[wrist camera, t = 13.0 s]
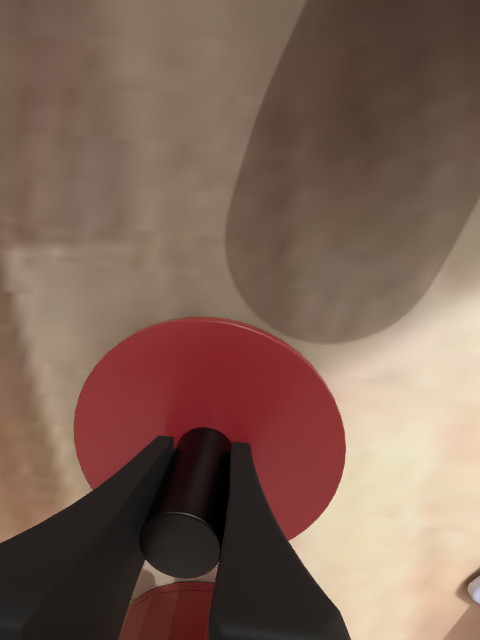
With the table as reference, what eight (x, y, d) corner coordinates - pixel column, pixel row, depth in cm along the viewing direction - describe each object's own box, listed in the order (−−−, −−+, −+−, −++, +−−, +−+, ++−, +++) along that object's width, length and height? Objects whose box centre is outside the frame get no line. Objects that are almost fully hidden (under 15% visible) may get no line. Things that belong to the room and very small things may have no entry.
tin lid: (160, 257, 12) (85, 271, 7) (395, 407, 13) (479, 515, 8) (50, 459, 15) (-59, 572, 10) (248, 571, 15) (240, 726, 10)
